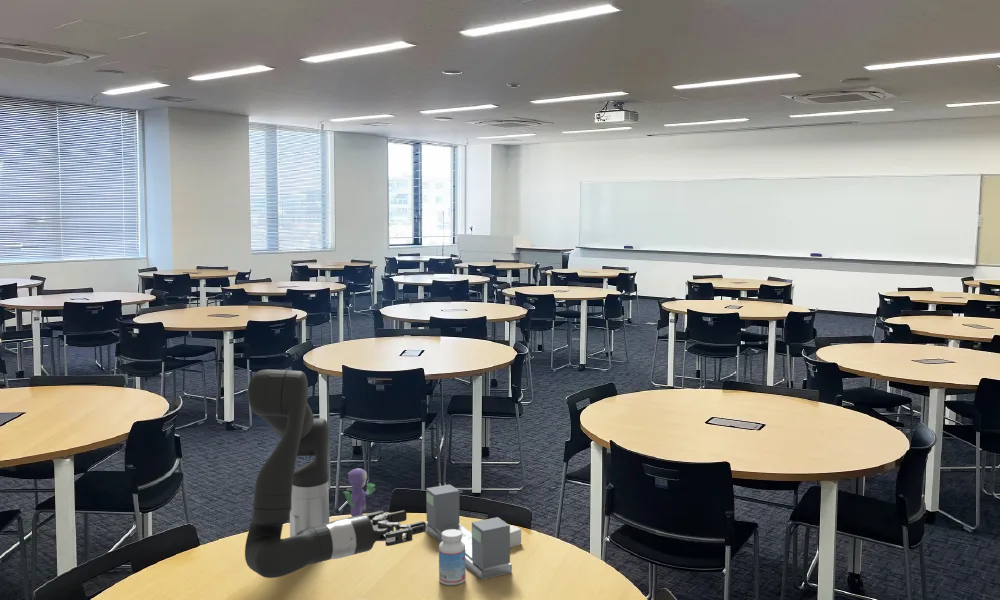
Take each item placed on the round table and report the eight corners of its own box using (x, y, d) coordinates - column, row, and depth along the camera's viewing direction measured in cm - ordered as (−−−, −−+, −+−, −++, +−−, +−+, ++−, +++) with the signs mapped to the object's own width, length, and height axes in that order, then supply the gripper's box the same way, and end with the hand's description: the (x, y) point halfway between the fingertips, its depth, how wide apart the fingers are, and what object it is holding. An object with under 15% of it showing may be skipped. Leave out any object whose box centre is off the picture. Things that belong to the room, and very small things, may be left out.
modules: (482, 569, 170) (482, 531, 170) (425, 521, 200) (425, 488, 199) (509, 562, 174) (509, 525, 173) (450, 516, 204) (450, 484, 203)
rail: (481, 579, 170) (481, 569, 170) (425, 530, 200) (424, 521, 200) (511, 572, 174) (511, 562, 174) (451, 524, 204) (451, 516, 204)
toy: (354, 534, 197) (353, 479, 196) (334, 533, 198) (333, 478, 197) (379, 510, 215) (378, 459, 214) (361, 509, 216) (360, 458, 215)
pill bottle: (468, 584, 168) (468, 535, 167) (443, 588, 166) (442, 539, 165) (461, 573, 174) (460, 526, 173) (435, 577, 172) (435, 529, 171)
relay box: (504, 550, 187) (504, 535, 187) (493, 546, 190) (493, 530, 190) (521, 544, 191) (521, 529, 191) (510, 539, 194) (510, 524, 194)
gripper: (361, 529, 147) (431, 512, 157) (332, 510, 159) (399, 495, 168) (362, 566, 148) (432, 547, 157) (332, 544, 159) (399, 527, 169)
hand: (415, 520), depth 163 cm, fingers open, 8 cm apart
